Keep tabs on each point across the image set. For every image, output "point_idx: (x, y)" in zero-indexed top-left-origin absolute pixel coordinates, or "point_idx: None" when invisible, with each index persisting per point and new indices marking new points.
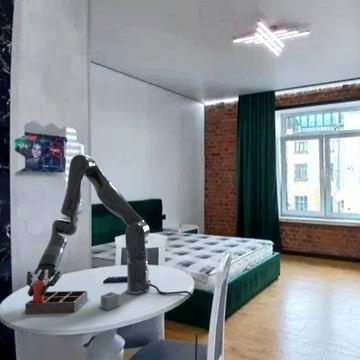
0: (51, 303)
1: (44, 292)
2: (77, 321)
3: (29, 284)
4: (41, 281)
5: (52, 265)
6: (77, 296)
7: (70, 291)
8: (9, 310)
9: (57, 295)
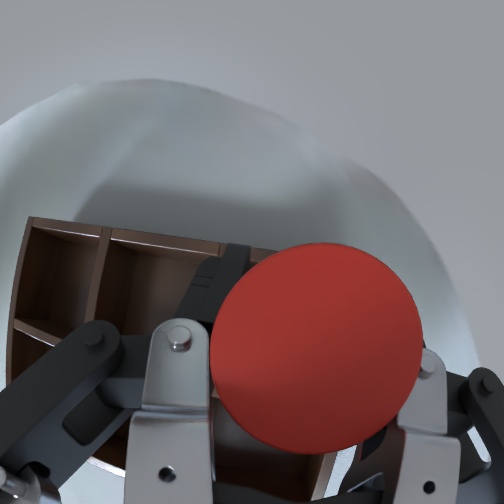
0: (152, 234)
1: (200, 267)
2: (58, 136)
3: (456, 382)
4: (254, 351)
5: None
6: (22, 324)
7: (91, 457)
8: (454, 345)
9: None
